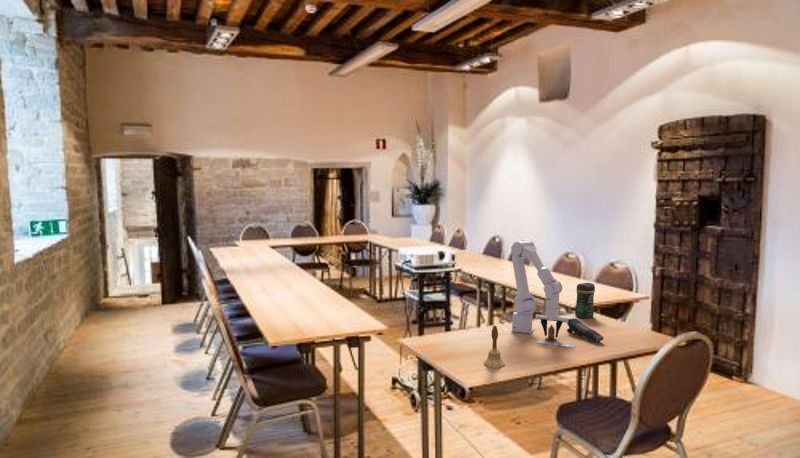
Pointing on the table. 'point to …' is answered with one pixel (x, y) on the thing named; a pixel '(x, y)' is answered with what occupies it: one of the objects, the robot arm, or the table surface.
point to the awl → (551, 333)
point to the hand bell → (494, 352)
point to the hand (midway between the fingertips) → (551, 336)
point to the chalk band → (556, 344)
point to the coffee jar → (585, 300)
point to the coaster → (551, 340)
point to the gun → (583, 330)
